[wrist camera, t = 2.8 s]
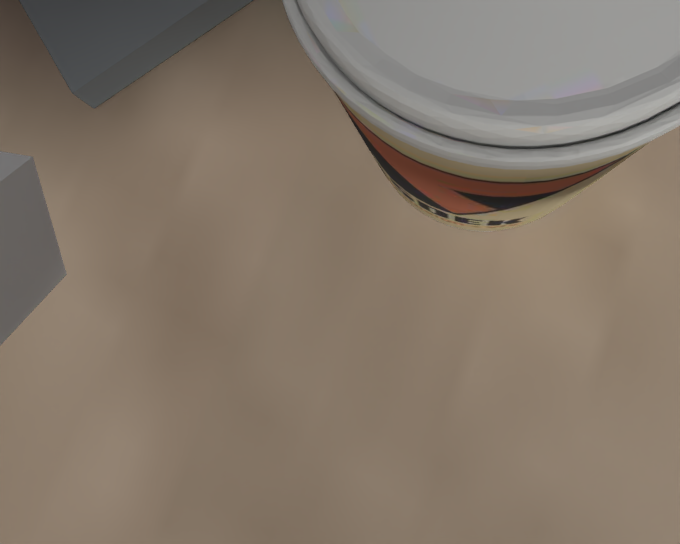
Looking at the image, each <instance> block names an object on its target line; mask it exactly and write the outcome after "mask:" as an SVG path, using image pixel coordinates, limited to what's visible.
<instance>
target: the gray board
mask: <svg viewBox="0 0 680 544" xmlns="http://www.w3.org/2000/svg"><path fill="white" fill-rule="evenodd" d="M19 1H20V3H21V4H22V6H23V8H24V10H25V11H26V13H27V15H28V17H29V18H30V20H31V22H32V24H33V25H34V27H35V29H36V31H37V32H38V34H39V36H40V38H41V39H42V41H43V43H44V45H45V46H46V48H47V50H48V52H49V53H50V55H51V57H52V59H53V60H54V62H55V64H56V66H57V67H58V69H59V71H60V73H61V74H62V76H63V78H64V80H65V81H66V83H67V85H68V87H69V88H70V90H71V92H72V93H73V94H74V95H75V96H77V97H78V98H80V99H81V100H83V101H84V102H85V103H87V104H88V105H90V106H91V107H93V108H96V107H97V106H99V105H100V104H101V103H103V102H104V101H106V100H107V99H109V98H110V97H112V96H113V95H115V94H116V93H118V92H119V91H121V90H122V89H124V88H125V87H126V86H128V85H129V84H131V83H132V82H134V81H135V80H137V79H138V78H140V77H141V76H143V75H144V74H146V73H147V72H149V71H150V70H151V69H153V68H154V67H156V66H157V65H159V64H160V63H162V62H163V61H165V60H166V59H168V58H169V57H171V56H172V55H174V54H175V53H176V52H178V51H179V50H181V49H182V48H184V47H185V46H187V45H188V44H190V43H191V42H193V41H194V40H196V39H197V38H199V37H200V36H201V35H203V34H204V33H206V32H207V31H209V30H210V29H212V28H213V27H215V26H216V25H218V24H219V23H221V22H222V21H223V20H225V19H226V18H228V17H229V16H231V15H232V14H234V13H235V12H237V11H238V10H240V9H241V8H243V7H244V6H246V5H247V4H248V3H250V2H251V1H253V0H19Z"/></svg>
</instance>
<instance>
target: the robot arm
mask: <svg viewBox="0 0 680 544" xmlns="http://www.w3.org/2000/svg"><path fill="white" fill-rule="evenodd" d="M66 275H67V274H66V270H65V267H64V264H63V260H62V257H61V253H60V250H59V246H58V243H57V239H56V236H55V232H54V229H53V225H52V222H51V218H50V215H49V212H48V208H47V205H46V201H45V198H44V194H43V191H42V187H41V184H40V180H39V177H38V173H37V170H36V167H35V163H34V160H33V157H31V156H25V155H19V154H13V153H8V152H2V151H0V345H1V344H2V343H3V342H4V341H5V340H6V339H7V338H8V337H9V336H10V335H11V333H12V332H13V331H14V330H15V329H16V328H17V327H18V326H19V325H20V324H21V323H22V322H23V321H24V320H25V318H26V317H27V316H28V315H29V314H30V313H31V312H32V311H33V310H34V309H35V308H36V307H37V306H38V305H39V303H40V302H41V301H42V300H43V299H44V298H45V297H46V296H47V295H48V294H49V293H50V292H51V291H52V290H53V288H54V287H55V286H56V285H57V284H58V283H59V282H60V281H61V280H62V279H63V278H64V277H65V276H66Z"/></svg>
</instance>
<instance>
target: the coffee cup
mask: <svg viewBox="0 0 680 544" xmlns="http://www.w3.org/2000/svg"><path fill="white" fill-rule="evenodd" d="M282 2H283V5H284V8H285V11H286V14H287V17H288V19H289V22H290V24H291V26H292V28H293V30H294V32H295V34H296V36H297V39H298V41H299V43H300V44H301V46H302V47H303V49H304V51H305V52H306V54H307V55H308V57H309V59H310V60H311V62H312V63H313V65H314V66H315V68H316V69H317V70H318V71H319V73H320V74H321V75H322V76H323V78H324V79H325V80H326V82H327V83H328V84H329V85H330V87H331V88H332V89H333V90H334V91H335V93H336V95H337V96H338V98H339V100H340V101H341V103H342V105H343V107H344V108H345V110H346V112H347V113H348V115H349V117H350V118H351V120H352V122H353V123H354V125H355V127H356V129H357V130H358V132H359V133H360V135H361V137H362V138H363V140H364V142H365V143H366V145H367V146H368V148H369V150H370V151H371V153H372V155H373V156H374V158H375V160H376V161H377V163H378V164H379V166H380V168H381V169H382V171H383V173H384V174H385V176H386V177H387V178H388V180H389V181H390V182H391V184H392V185H393V186H394V188H395V189H396V190H397V191H398V193H399V194H400V195H401V196H402V197H403V198H404V199H405V200H406V201H407V202H408V203H410V204H411V205H412V206H413V207H414V208H416V209H417V210H419V211H420V212H422V213H423V214H425V215H427V216H428V217H430V218H432V219H434V220H436V221H438V222H441V223H443V224H446V225H449V226H452V227H456V228H460V229H464V230H472V231H499V230H506V229H510V228H515V227H519V226H522V225H525V224H528V223H531V222H533V221H535V220H538V219H540V218H542V217H544V216H545V215H547V214H549V213H550V212H552V211H554V210H556V209H557V208H559V207H561V206H562V205H563V204H565V203H566V202H568V201H569V200H570V199H572V198H573V197H575V196H576V195H577V194H579V193H580V192H582V191H583V190H585V189H586V188H587V187H589V186H590V185H592V184H593V183H594V182H596V181H597V180H599V179H600V178H601V177H603V176H604V175H605V174H607V173H608V172H609V171H611V170H612V169H614V168H615V167H616V166H618V165H619V164H620V163H622V162H623V161H625V160H626V159H627V158H629V157H630V156H631V155H633V154H634V153H636V152H637V151H638V150H640V149H641V148H642V147H644V146H645V145H646V144H648V143H649V142H650V141H652V140H654V139H656V138H657V137H659V136H661V135H663V134H665V133H667V132H669V131H671V130H673V129H674V128H676V127H678V126H680V0H282Z"/></svg>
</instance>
